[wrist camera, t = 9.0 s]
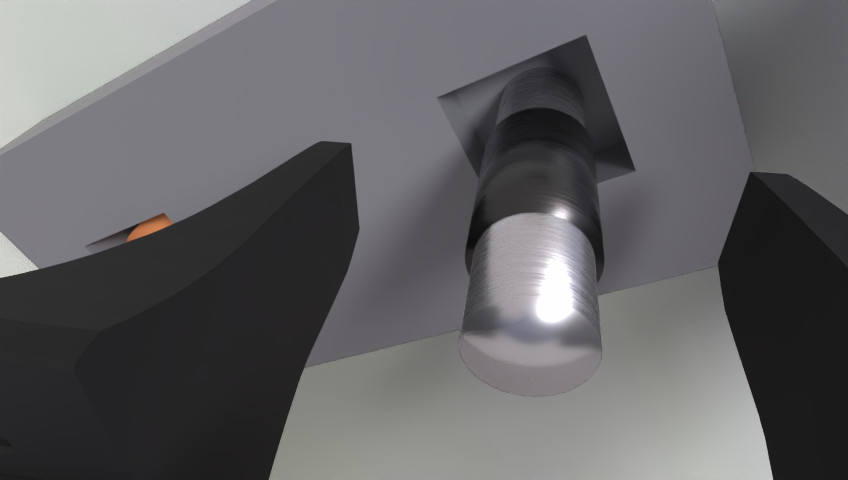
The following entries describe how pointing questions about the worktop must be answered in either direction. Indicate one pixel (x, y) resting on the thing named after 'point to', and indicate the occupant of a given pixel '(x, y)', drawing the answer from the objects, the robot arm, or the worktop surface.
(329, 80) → the grey block
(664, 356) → the worktop surface
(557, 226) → the toggle switch lever
